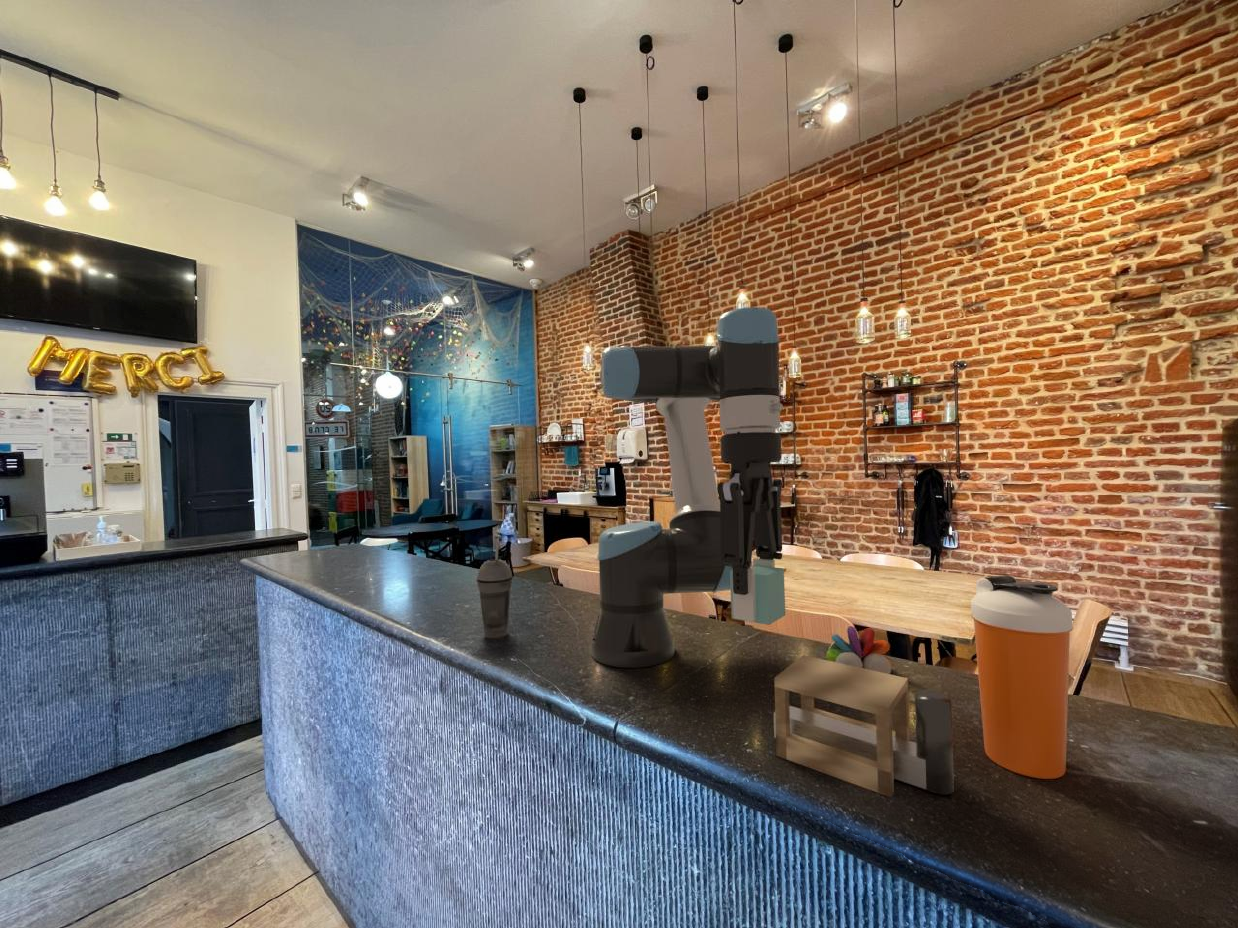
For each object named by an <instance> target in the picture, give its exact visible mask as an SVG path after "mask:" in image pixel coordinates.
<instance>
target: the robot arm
mask: <svg viewBox="0 0 1238 928" xmlns="http://www.w3.org/2000/svg"><path fill="white" fill-rule="evenodd" d="M777 319H778V318H777V315H776V313H775V312H774V311H773V310H771V309H769V308H765V307H756V306H753V307H741V308H736V309H732V310H731V309H730V310H729V311H726V312H724V313H722V314H721V316H720V317H719V318H718V321H717V329H716V330H717V333H716V339H717V345H678V346H675V345H674V346H630V345H621V346H614V347H606V348H605V349H604V350H603V351H602V354H601V355H602V357H601V368H600V371H599V380H600V384H601V387H602V392H603V396H604V397H605V398H607V399H614V400H615V399H616V400H617V399H618V400H622V401H627V402H631V403H632V402H633V403H655V407H656V410H657V412H658V413H659V414H660V415H661V416H662V417H664V424H665V433H666V441H667V449H668V459H669V467H670V474H671V483H672V484H671V485H672V490H673V491H672V492H673V499H674V501H673V502H674V508H675V510H674V511H675V515H673V517H672V518H671V519H670V520H669V524H668V525H669V526H668V527H669V528H667V529H664V528H663V526H662V525H661V522H659V521H655V520H652V521H651V520H650V521H639V522H632V523H625V524H621V525H617V526H613V527H610V528H608V529H606V530H604V531H602V532H601V534H600V535H599V537H598V554H597V557H596V558H597V560H598V567H599V568H598V574H599V575H598V576H599V578H598V579H599V583H598V585H599V613H598V617H597V620H596V622H595V623H596V624H595V628H594V632H593V633H594V634H593V635H592V638H591V643H590V649H591V650H590V651H591V652H590V653H591V657H592V658H593V659H594V660H595V661H597V662H598V663H601V664H603V665H606V666H610V667H617V668H624V669H625V668H627V669H628V668H632V669H636V668H637V669H638V668H646V667H651V666H657V665H660V664H663V663H665V662H667V661H669V660H670V659H672V658H673V656H675V655H674V654H675V638H674V636H673V634H672V632H671V628H670V625H669V622H668V619H667V616H666V612H665V607H664V595H665V594H667V595H668V594H669V595H670V594H686V593H687V594H689V593H690V594H691V593H713V594H715V593H717V592H724V591H725V592H726V591H731V589H730V571H731V570H732V577H733V614H734V618H735V619H734V620H738V619H741V620H740V621H743V620H746V621H745V622H749V621H751V622H750V623H754V622H755V621H756V587H755V567H751V565H755V566H765V567H776V565H775V564H776V563H775V561H776V560H782V558H783V553H782V551H783V532H782V525H783V524H782V506H781V505H782V502H781V501H782V500H781V499H782V497H781V495H782V488H783V486H782V485H783V481H782V479H781V478H773V473H772V469H771V463H779V462H780V461H781V460H782V458H783V457H782V456H783V455H782V435H780V433H779V432H776V430H777V429H779V428H780V427H781V411H782V410H783V409H784V406H783V404H782V403H781V401H780V400H781V399H780V394H781V393H780V351H779V349H780V348H779V345H780V344H779V343H780V336H779V328H778V327H779V326H778V320H777ZM710 401H719V429H720V430H721V431H722V432H724V434H723V435H722V436H721V437H720V461H721V462H722V463H723V464H730V473H729V476H728V477H729V479H728V481H726V482H718V483H717V480H716V474H715V469H714V463H713V461H714V460H713V456H712V449H711V443H710V438H709V433H708V426H707V425H708V424H707V421H706V420H707V419H706V414H705V410H706V409H707V408H708V406H709V405H710ZM753 546H754V548H755V556H756V557H757V558H755V557H754V558H753ZM752 558H753V559H752Z"/></svg>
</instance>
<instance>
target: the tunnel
mask: <svg viewBox="0 0 1238 928" xmlns="http://www.w3.org/2000/svg"><path fill="white" fill-rule="evenodd" d="M773 682H774V708H775V710H774V712H775V719H776V738H775V746H776V747H775V749H776V751H775V752H776V753H775V754H776V756H777V757H779V758H782V759H784V760H787V761H789V762H793V763H795V764H798V765H801V766H804V767H806V768H809V769H812V770H814V771H818V772H820V773H823V774H825V775H828V776H831V777H833V778H836V779H839V780H842V781H845V782H847V783H850V784H853V785H855V786H859V787H861V788H864V789H867V790H869V791H873V792H876V793H878V794H880V795H882V796H883V795H884V796H886V797H887V798H892V797H893V795H894V793H895V784H894V782H895V781H894V774H893V739H892V736H895V737H898V738H902V739H905V740H909V741H911V739H910V738H911V737H910V735H911V733H910V703H909V678H908V677H903V676H898V675H894V674H891V673H890V674H886V673H882V672H877V671H873V670H868V669H864V668H859V667H855V666H850V665H846V664H841V663H837V662H832V661H829V660H828V659H824V658H823V659H822V658H818V657H813V656H809V655H806V654H802V656H800V657H799V658H797V659H796V660H795V661H794V662H793V663H791V664H790V665H788V667H786V668H785V669H784V670H782V671H781V672H780V673H778V674H777V675H776V676H774V679H773ZM790 692H793V693H797V694H800V709H803V710H806V711H810V712H813V713H816V714H820V715H823V716H827V717H830V718H834V719H837V720H840V721H844V722H847V723H851V724H854V725H857V726H861V727H864V728H868V729H871V730H874V731H876V737H877V762H876V761H873V760H870V759H867V758H864V757H861V756H858V755H855V754H852V753H849V752H846V751H843V750H840V749H837V748H834V747H831V746H828V745H825V744H822V743H819V742H816V741H813V740H810V739H806V738H803V737H800V736H797V735H794V734H791V733H790V711H789V706H790ZM814 699H819V700H823V701H825V702H830V703H833V704H837V705H841V706H843V707H848V708H851V709H854V710H855V709H856V710H858V711H863V712H866V713H870V714H873V715H875V725H874V724H872V723H868V722H865V721H861V720H857V719H854V718H851V717H846V716H843V715H840V714H837V713H832V712H829V711H825V710H823V709H819V708H815V700H814ZM893 712H894V728H895V729H894V730H893V715H892V714H893Z"/></svg>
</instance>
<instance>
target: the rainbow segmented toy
mask: <svg viewBox="0 0 1238 928" xmlns="http://www.w3.org/2000/svg"><path fill="white" fill-rule="evenodd" d="M846 632H847V637H848V642H846V640H844V639H843V638H842V637H841V636H839V635H838V634H836V633H835V634H833V635H831V640H832V641H833V642H832V643H831V644H830V645H829V647H828V651H827V652H826V660H828V661H832V662H837V663H841V664H846V665H850V666H855V667H859V668H864V669H868V670H873V671H877V672H882V673H886V674H891V672H892V667H893V661H892V659H890V658H889V657H887V656H885V654H887V652H888V651H889V649H890V648H891V644H890V643H889V642H888V641H887V640H885V639H878V640H875V634H876V633H875V630H874V629H873V628H871V627H868V628H865V629H864V630H863V631H862V632H861V634H860V636H859V634H858V632H857V630H856V627H854V626H852V625H850V626H848V627H847V631H846Z"/></svg>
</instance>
